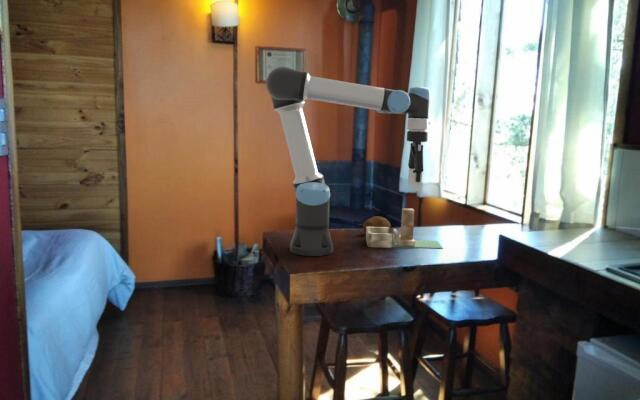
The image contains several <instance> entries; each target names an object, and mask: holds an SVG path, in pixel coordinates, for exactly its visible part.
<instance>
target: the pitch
mask: <svg viewBox="0 0 640 400" xmlns="http://www.w3.org/2000/svg"><path fill="white" fill-rule="evenodd" d="M414 240H415V246H399V245H395V243H394V241H393V239H392V245H391V248H409V249H410V248H411V249H413V248H414V249H440V250H443V248H444V247H443V246H442V245H441V244H440V243H439V241H438V240H421V239H420V240H419V239H418V240H417V239H414Z"/></svg>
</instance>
